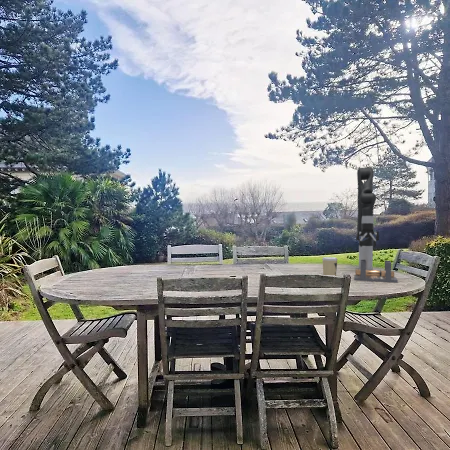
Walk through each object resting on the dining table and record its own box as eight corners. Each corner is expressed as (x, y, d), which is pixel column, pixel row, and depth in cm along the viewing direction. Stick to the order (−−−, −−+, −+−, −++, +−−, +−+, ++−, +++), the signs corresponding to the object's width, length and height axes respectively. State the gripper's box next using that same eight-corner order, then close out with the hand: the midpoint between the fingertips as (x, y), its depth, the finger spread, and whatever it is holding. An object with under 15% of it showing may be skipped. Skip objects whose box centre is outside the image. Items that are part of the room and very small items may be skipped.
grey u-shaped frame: (354, 277, 239) (354, 259, 239) (396, 279, 231) (396, 261, 231) (354, 280, 230) (354, 261, 229) (397, 282, 222) (397, 263, 221)
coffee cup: (338, 278, 237) (338, 258, 236) (322, 277, 238) (323, 258, 238) (336, 275, 246) (336, 257, 246) (321, 275, 248) (321, 256, 247)
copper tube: (355, 276, 244) (355, 269, 244) (355, 275, 248) (355, 268, 248) (394, 278, 237) (394, 271, 237) (393, 277, 241) (393, 270, 240)
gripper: (376, 223, 259) (376, 246, 259) (355, 222, 261) (355, 246, 260) (380, 222, 252) (380, 247, 251) (358, 222, 253) (358, 246, 253)
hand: (367, 246), depth 256 cm, fingers open, 8 cm apart
